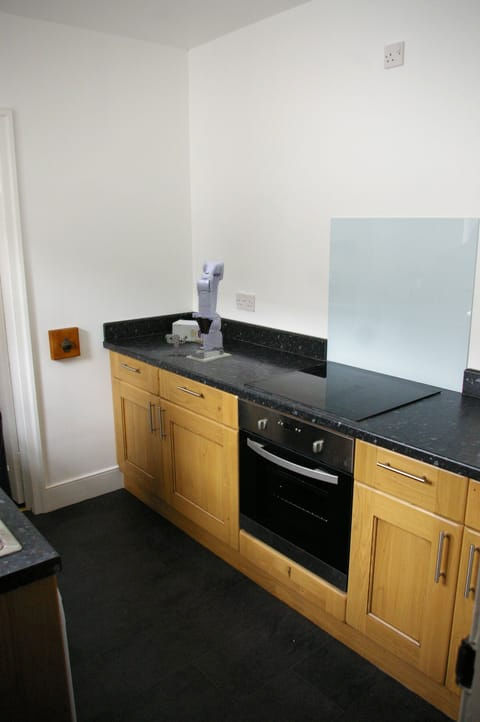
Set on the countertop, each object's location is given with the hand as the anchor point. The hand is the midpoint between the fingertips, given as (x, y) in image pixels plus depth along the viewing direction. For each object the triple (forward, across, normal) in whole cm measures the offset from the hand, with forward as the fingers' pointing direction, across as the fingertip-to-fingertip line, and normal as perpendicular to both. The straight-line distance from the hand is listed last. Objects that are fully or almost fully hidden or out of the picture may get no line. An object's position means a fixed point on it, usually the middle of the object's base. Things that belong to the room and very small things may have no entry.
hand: (204, 333), depth 277 cm
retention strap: (+5, +4, -2) cm, 6 cm away
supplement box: (+11, -35, +24) cm, 44 cm away
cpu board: (+10, +4, -1) cm, 11 cm away
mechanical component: (+11, -9, -10) cm, 17 cm away
